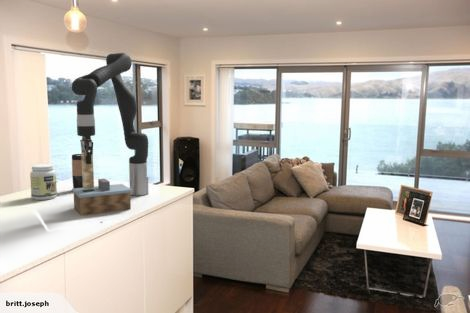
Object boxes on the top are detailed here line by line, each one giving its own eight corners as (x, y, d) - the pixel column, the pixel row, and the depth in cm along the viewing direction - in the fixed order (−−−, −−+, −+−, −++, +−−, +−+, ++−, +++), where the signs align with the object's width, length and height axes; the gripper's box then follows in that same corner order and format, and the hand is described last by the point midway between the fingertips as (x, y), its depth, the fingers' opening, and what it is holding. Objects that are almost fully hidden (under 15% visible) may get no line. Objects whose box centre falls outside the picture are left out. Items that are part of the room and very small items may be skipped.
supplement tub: (47, 201, 212) (45, 167, 209) (25, 199, 214) (24, 166, 212) (62, 195, 224) (60, 164, 221) (41, 194, 226) (39, 163, 224)
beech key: (91, 186, 193) (90, 151, 191) (94, 188, 190) (92, 152, 188) (82, 187, 191) (81, 152, 189) (84, 189, 188) (83, 153, 186)
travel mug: (90, 189, 240) (89, 154, 237) (81, 192, 233) (80, 156, 230) (79, 188, 243) (77, 153, 240) (69, 190, 235) (68, 155, 233)
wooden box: (121, 204, 207) (120, 186, 206) (130, 211, 195) (130, 192, 194) (74, 210, 195) (73, 191, 194) (81, 217, 184) (80, 197, 182)
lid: (121, 186, 207) (121, 175, 206) (131, 192, 194) (131, 181, 193) (72, 191, 194) (71, 180, 194) (79, 197, 182) (79, 186, 181)
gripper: (98, 125, 183) (100, 164, 185) (90, 123, 195) (92, 160, 197) (80, 126, 179) (82, 166, 181) (73, 124, 191) (75, 161, 193)
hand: (87, 163), depth 189 cm, fingers closed on beech key, 4 cm apart
